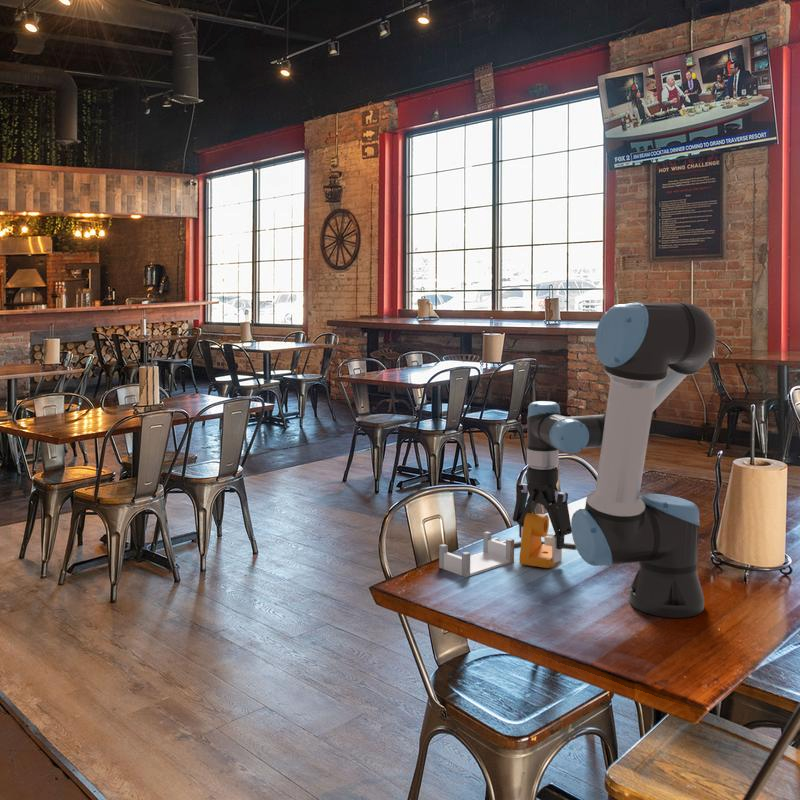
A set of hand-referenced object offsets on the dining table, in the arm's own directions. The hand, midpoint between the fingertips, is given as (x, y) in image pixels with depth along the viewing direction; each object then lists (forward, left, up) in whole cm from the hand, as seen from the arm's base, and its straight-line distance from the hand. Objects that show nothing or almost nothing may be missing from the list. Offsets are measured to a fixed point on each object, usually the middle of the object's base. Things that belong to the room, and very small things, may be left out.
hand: (540, 556), depth 205 cm
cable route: (+8, -6, -1) cm, 10 cm away
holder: (+9, +13, -1) cm, 16 cm away
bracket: (0, 0, -2) cm, 2 cm away
